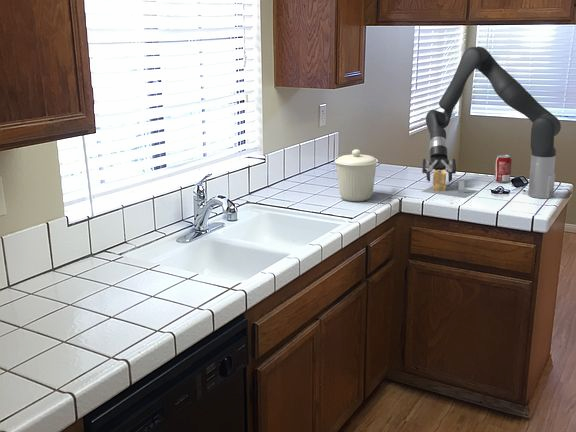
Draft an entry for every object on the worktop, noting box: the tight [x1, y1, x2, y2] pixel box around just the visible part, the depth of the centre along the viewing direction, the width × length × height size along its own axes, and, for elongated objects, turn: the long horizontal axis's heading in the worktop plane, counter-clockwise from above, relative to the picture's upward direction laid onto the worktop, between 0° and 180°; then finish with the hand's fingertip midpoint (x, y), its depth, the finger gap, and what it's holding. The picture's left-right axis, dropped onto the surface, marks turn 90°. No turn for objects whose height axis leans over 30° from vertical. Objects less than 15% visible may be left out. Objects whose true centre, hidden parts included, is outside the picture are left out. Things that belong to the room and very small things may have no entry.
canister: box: [333, 149, 379, 202], centre depth 267 cm, size 18×18×21 cm
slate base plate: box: [421, 185, 479, 199], centre depth 271 cm, size 20×14×2 cm
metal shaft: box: [457, 180, 465, 193], centre depth 268 cm, size 2×2×5 cm
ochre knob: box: [432, 169, 447, 191], centre depth 273 cm, size 5×5×8 cm
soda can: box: [494, 154, 512, 184], centre depth 289 cm, size 7×7×12 cm
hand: (439, 180), depth 272 cm, fingers open, 8 cm apart
